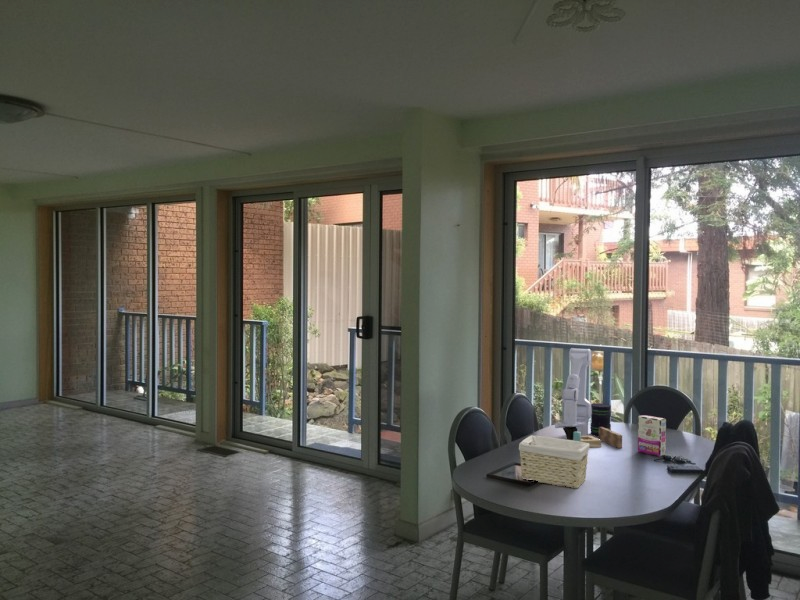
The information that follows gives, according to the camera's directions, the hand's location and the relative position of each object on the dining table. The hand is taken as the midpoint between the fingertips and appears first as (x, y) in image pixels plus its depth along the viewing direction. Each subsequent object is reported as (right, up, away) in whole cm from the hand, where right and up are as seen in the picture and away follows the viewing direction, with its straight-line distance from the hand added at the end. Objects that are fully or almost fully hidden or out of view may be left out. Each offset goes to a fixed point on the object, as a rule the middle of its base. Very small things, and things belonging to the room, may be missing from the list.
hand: (569, 442), depth 297 cm
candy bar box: (+33, -2, -14) cm, 36 cm away
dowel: (+1, -1, -8) cm, 8 cm away
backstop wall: (+20, -1, +4) cm, 21 cm away
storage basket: (-21, -2, -54) cm, 58 cm away
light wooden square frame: (+8, -1, +2) cm, 8 cm away
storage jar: (+22, -1, +23) cm, 31 cm away
